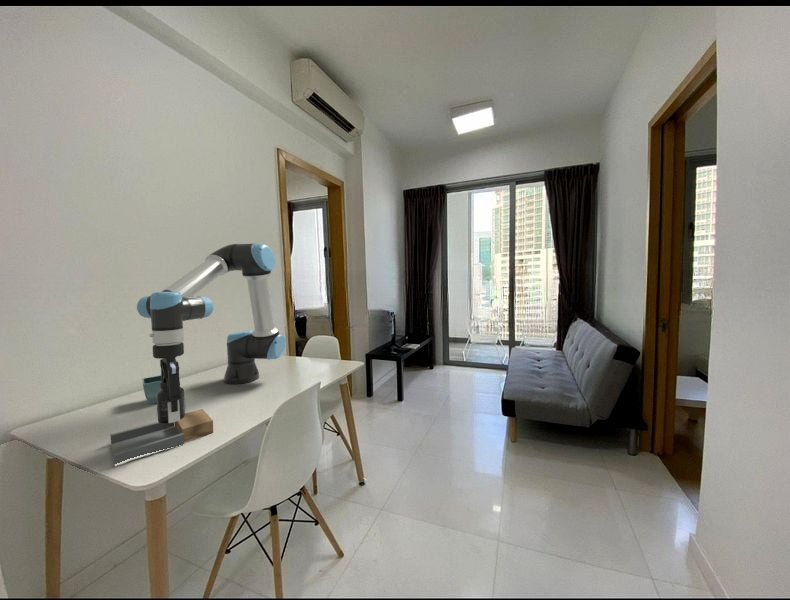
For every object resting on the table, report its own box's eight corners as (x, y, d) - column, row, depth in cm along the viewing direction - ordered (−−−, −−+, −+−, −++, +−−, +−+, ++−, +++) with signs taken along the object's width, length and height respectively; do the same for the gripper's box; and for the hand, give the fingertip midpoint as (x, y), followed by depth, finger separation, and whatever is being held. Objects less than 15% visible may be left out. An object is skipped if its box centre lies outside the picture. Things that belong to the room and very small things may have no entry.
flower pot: (144, 407, 114) (142, 384, 114) (143, 400, 121) (142, 378, 120) (172, 401, 120) (171, 379, 119) (170, 394, 127) (169, 373, 126)
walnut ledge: (202, 420, 104) (202, 408, 104) (213, 432, 95) (212, 420, 95) (174, 428, 98) (174, 416, 98) (182, 442, 90) (182, 429, 89)
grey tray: (173, 426, 99) (173, 417, 99) (184, 444, 89) (183, 434, 88) (111, 444, 88) (110, 434, 88) (114, 466, 78) (113, 455, 78)
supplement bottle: (190, 415, 95) (189, 377, 94) (170, 425, 88) (168, 385, 88) (173, 413, 97) (171, 376, 96) (151, 422, 90) (149, 383, 89)
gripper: (147, 340, 95) (151, 411, 97) (158, 350, 81) (162, 433, 83) (176, 337, 100) (179, 404, 102) (191, 346, 87) (194, 424, 88)
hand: (171, 417), depth 92 cm, fingers closed on supplement bottle, 7 cm apart
